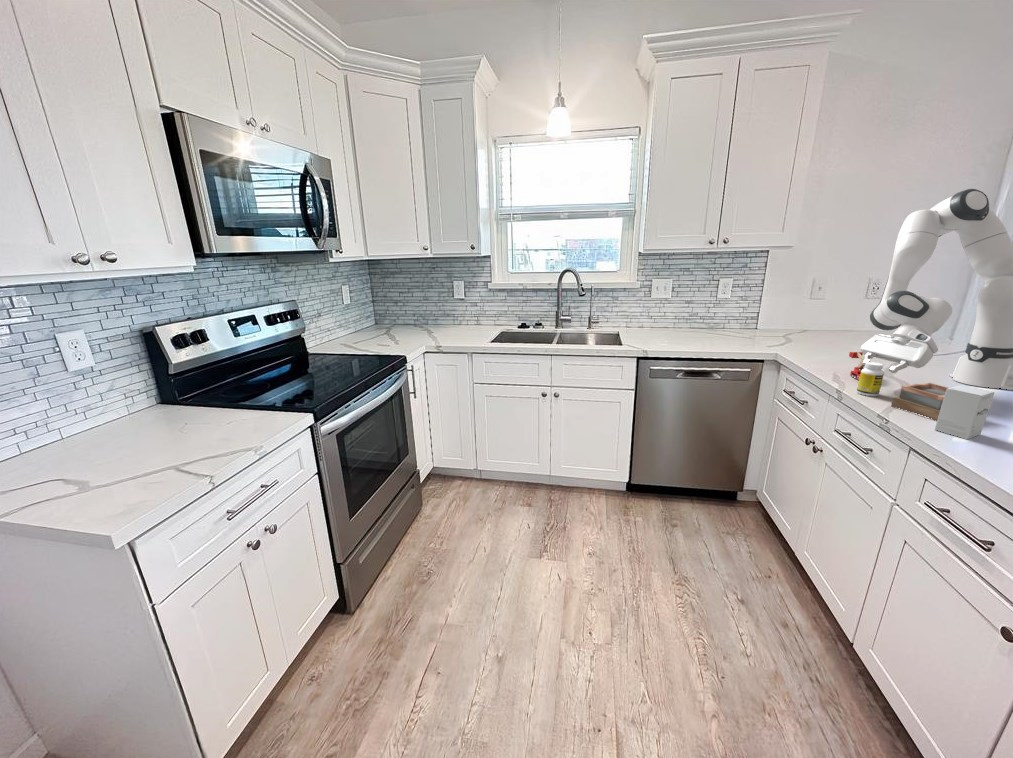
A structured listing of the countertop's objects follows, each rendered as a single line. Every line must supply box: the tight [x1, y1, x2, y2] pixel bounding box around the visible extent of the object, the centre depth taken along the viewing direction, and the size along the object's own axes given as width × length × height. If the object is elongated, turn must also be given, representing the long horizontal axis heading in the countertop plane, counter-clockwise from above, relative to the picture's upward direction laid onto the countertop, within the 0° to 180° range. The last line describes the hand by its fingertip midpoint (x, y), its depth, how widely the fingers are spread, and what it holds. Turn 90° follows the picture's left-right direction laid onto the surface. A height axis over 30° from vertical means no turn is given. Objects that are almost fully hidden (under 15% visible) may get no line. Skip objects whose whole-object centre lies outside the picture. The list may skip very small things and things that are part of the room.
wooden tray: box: [890, 382, 948, 422], centre depth 136 cm, size 13×13×7 cm
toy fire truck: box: [848, 351, 865, 381], centre depth 169 cm, size 3×14×10 cm, turn 168°
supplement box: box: [934, 384, 995, 440], centre depth 120 cm, size 7×7×13 cm
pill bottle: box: [856, 361, 885, 397], centre depth 152 cm, size 6×6×11 cm
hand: (877, 368), depth 152 cm, fingers open, 8 cm apart
